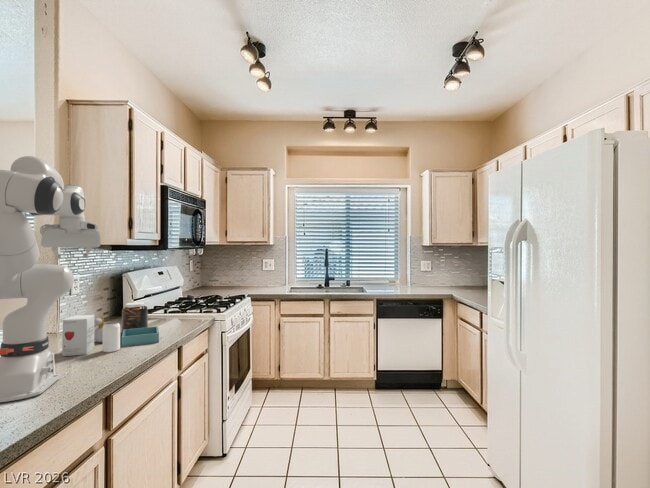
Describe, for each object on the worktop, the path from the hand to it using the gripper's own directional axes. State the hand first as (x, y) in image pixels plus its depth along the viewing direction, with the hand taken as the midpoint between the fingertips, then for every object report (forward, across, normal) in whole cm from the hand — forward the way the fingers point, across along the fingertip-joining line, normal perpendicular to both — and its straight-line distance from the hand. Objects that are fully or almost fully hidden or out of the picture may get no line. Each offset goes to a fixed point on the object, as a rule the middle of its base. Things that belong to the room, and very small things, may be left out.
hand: (72, 258), depth 145 cm
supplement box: (+40, +2, 0) cm, 40 cm away
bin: (+40, +27, 0) cm, 48 cm away
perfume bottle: (+40, +14, +10) cm, 43 cm away
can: (+40, +12, -7) cm, 42 cm away
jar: (+40, +31, +18) cm, 54 cm away
